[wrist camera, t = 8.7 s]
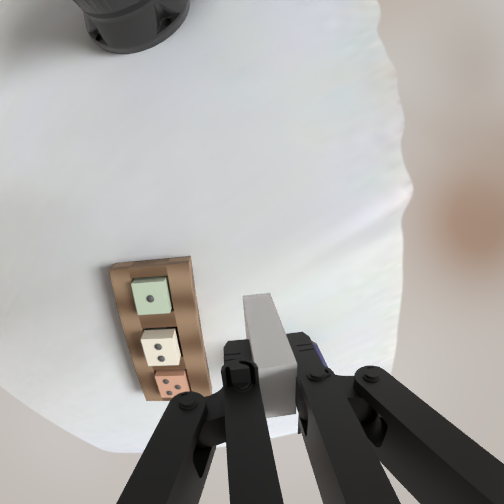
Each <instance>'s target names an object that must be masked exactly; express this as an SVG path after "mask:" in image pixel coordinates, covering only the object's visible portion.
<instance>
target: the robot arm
mask: <svg viewBox="0 0 504 504" xmlns="http://www.w3.org/2000/svg"><path fill="white" fill-rule="evenodd" d="M73 1H74V2H75V3H76V4H77V5H78V6H79V7H80V8H81V9H82V10H83V11H84V17H85V23H86V28H87V31H88V33H89V35H90V37H91V38H92V40H93V41H94V42H96V43H97V44H98V45H99V46H100V47H101V48H103V49H105V50H107V51H109V52H113V53H120V54H126V53H135V52H139V51H143V50H146V49H149V48H151V47H153V46H155V45H157V44H159V43H161V42H163V41H164V40H166V39H167V38H168V37H170V36H171V35H172V34H173V33H174V32H175V31H176V30H177V29H178V28H179V27H180V26H181V24H182V23H183V22H184V20H185V18H186V16H187V14H188V11H189V6H190V0H73ZM243 305H244V316H245V327H246V338H247V339H245V340H235V341H228V342H227V343H226V345H225V346H224V365H223V366H222V369H221V375H222V381H223V387H222V389H221V390H220V391H218V392H216V393H215V394H212V395H209V396H206V397H204V396H203V395H201V394H200V393H197V392H193V391H186V392H182V393H179V394H177V395H175V396H174V397H173V398H172V399H171V400H170V402H169V404H168V406H167V408H166V410H165V412H164V414H163V416H162V418H161V419H160V421H159V423H158V425H157V427H156V429H155V431H154V433H153V435H152V437H151V438H150V440H149V442H148V444H147V446H146V448H145V450H144V452H143V454H142V456H141V458H140V459H139V461H138V463H137V465H136V467H135V469H134V471H133V473H132V475H131V477H130V479H129V481H128V482H127V484H126V486H125V488H124V490H123V492H122V494H121V496H120V498H119V500H118V502H117V503H116V504H198V503H199V500H200V497H201V494H202V490H203V488H204V484H205V481H206V478H207V475H208V472H209V469H210V465H211V462H212V459H213V455H214V452H215V449H216V445H218V444H221V443H224V442H226V448H227V465H228V480H229V494H230V504H284V503H283V498H282V494H281V489H280V485H279V480H278V475H277V470H276V465H275V461H274V456H273V450H272V446H271V441H270V436H269V431H268V426H267V421H266V418H270V417H278V416H284V415H291V414H296V407H297V410H298V413H299V418H298V434H300V433H301V432H302V436H303V439H304V442H305V446H306V449H307V452H308V455H309V459H310V462H311V465H312V468H313V472H314V475H315V478H316V481H317V485H318V488H319V491H320V494H321V497H322V501H323V504H401V503H400V501H399V499H398V497H397V495H396V493H395V491H394V489H393V487H392V485H391V483H390V481H389V479H388V477H387V475H386V473H385V471H384V469H383V467H382V465H381V463H382V464H383V465H384V466H385V467H386V468H387V469H388V470H389V471H390V472H391V473H392V474H393V476H394V477H395V478H396V479H397V480H398V481H399V482H400V483H401V484H402V485H403V486H404V487H405V488H406V489H407V490H408V491H409V492H410V493H411V494H412V495H413V496H414V498H415V499H416V500H417V501H418V502H419V503H420V504H504V464H503V463H502V462H500V461H499V460H498V459H496V458H495V457H494V456H493V455H491V454H490V453H489V452H487V451H486V450H485V449H483V448H482V447H481V446H480V445H478V444H477V443H476V442H475V441H473V440H472V439H471V438H470V437H468V436H467V435H465V434H464V433H463V432H462V431H461V430H459V429H458V428H457V427H456V426H454V425H453V424H452V423H451V422H449V421H448V420H446V419H445V418H444V417H443V416H442V415H440V414H439V413H438V412H437V411H435V410H434V409H433V408H431V407H430V406H429V405H428V404H426V403H425V402H424V401H423V400H421V399H420V398H419V397H418V396H416V395H415V394H414V393H412V392H411V391H410V390H409V389H408V388H406V387H405V386H404V385H403V384H401V383H400V382H399V381H397V380H396V379H395V378H394V377H393V376H391V375H390V374H389V373H388V372H386V371H385V370H384V369H382V368H380V367H377V366H364V367H361V368H360V369H358V370H357V371H356V373H355V376H339V375H335V374H334V372H333V371H332V370H331V369H330V368H328V367H326V366H324V365H323V363H322V361H321V359H320V357H319V355H318V353H317V351H316V349H315V347H314V345H313V344H312V341H311V339H310V337H309V336H308V335H306V334H305V333H303V332H297V333H290V334H286V333H285V331H284V328H283V326H282V323H281V320H280V318H279V315H278V313H277V310H276V308H275V305H274V302H273V300H272V297H271V295H270V293H266V294H256V295H246V296H243ZM380 462H381V463H380Z"/></svg>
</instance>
